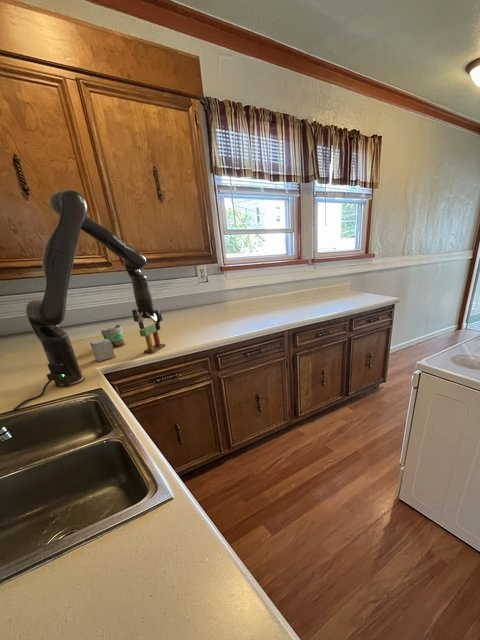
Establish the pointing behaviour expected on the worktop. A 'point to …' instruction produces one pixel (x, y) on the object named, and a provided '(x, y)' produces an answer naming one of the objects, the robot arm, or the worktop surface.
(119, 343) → the food container
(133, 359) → the worktop surface
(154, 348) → the rod stand
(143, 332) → the bar
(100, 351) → the medicine box
